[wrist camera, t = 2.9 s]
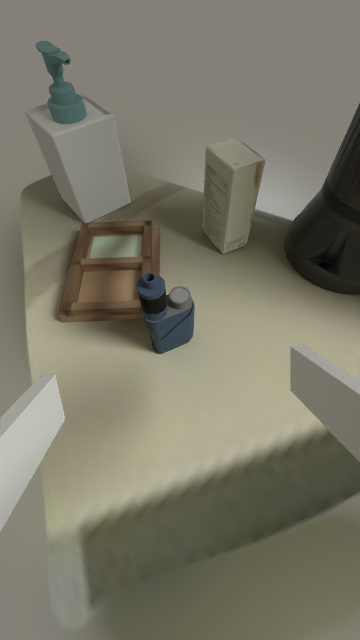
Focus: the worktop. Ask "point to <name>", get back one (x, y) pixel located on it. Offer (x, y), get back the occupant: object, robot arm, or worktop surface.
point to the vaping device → (166, 312)
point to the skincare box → (230, 193)
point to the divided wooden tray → (109, 271)
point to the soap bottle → (79, 144)
